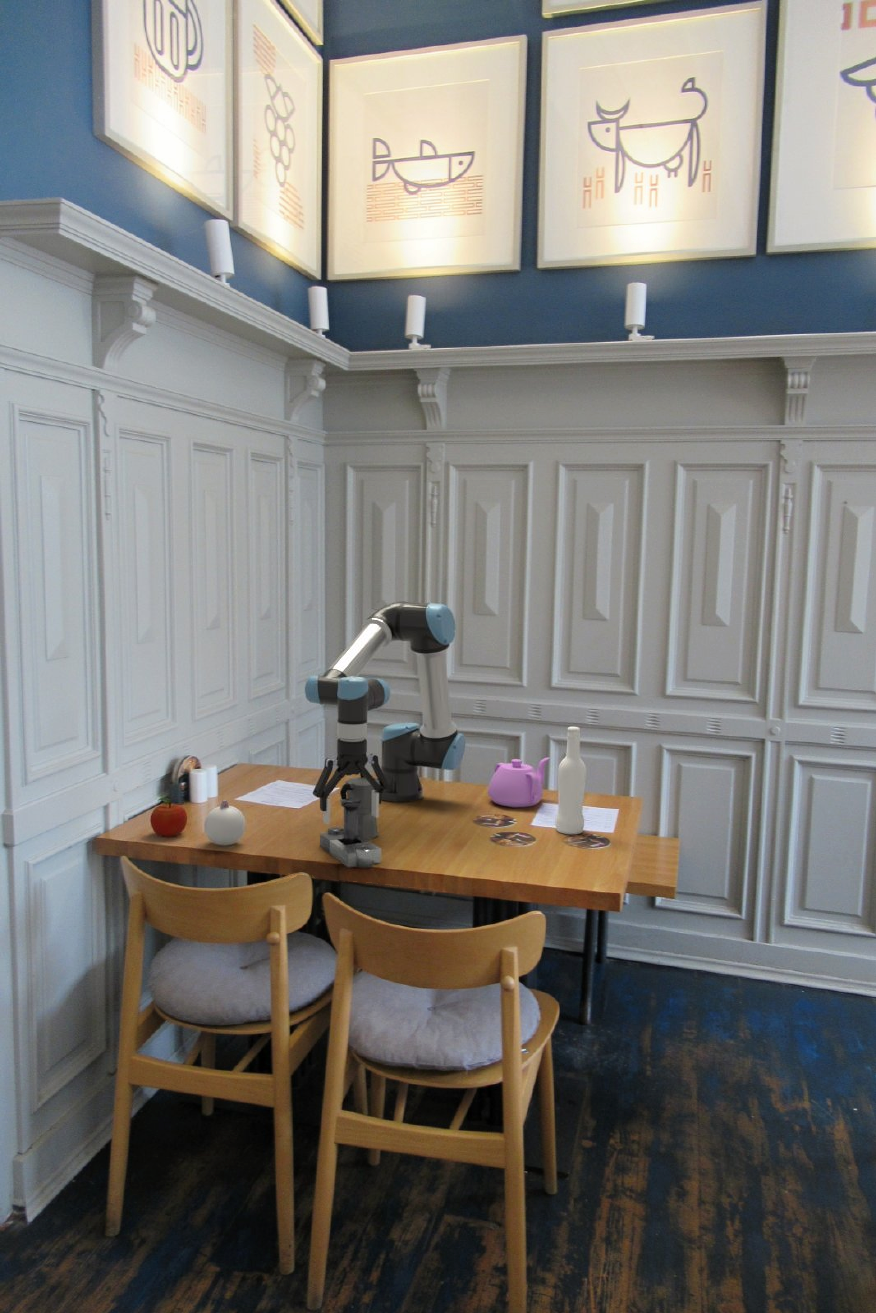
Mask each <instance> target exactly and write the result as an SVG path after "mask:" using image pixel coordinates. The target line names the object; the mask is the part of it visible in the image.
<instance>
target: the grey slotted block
mask: <svg viewBox="0 0 876 1313" xmlns="http://www.w3.org/2000/svg"><path fill="white" fill-rule="evenodd" d="M343 828H344V827H338V826H335V827H329V828H327V830H326V831H327V832H322V833H321V832H320V833H319V847H320V848H321V847H322V848H323V849H322V850H324V851H325V852H327V853H328V854H329V855H331V856H332V857H333V858H334V859H336V860H338V861H339V862H341V864H342V865H344V866H345V867H347V868H353V867H358V868H362V869H366V868H367V869H368V868H372V867H374V866H375V864H379V863H380V864H381V862H382V848H381V847H380V846H377V845H376V844H374V843H373V842H372V841H370V840H369V839H365V838H364V837H362V836H361V835H359V834H357V844H349V845H344V844H343Z"/></svg>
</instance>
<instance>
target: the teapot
mask: <svg viewBox="0 0 876 1313" xmlns="http://www.w3.org/2000/svg"><path fill="white" fill-rule="evenodd" d="M550 758H551V757H550V756H549V757H545V758H543V759H541V760H540V761H539V764H538V766H537V770H535V769H534V767H533V766H532V765H529V764H526V763H523V760H522V759H518V758H513V759H511V760H510V761H511V763H510V762H508V763H504V762H498V763H497V764H495V766H494V774H493V776H492V777H491V779H490V781H489V784H488V789H487V794H488V797H489V798H490V799H491V801H492V802H493V803H495V804H497V805H500V806H505V807H509V808H511V809H513V808H514V809H515V808H527V807H533V806H536V805H537V804H539V802H540V801H541V800H542V798H543V796H544V793H543V792H544V790H543V785H544V783H545V778H546V777H545V771H546V770H545V767H546V764H547V762H548V761H549V759H550Z"/></svg>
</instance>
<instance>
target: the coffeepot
mask: <svg viewBox="0 0 876 1313" xmlns="http://www.w3.org/2000/svg"><path fill="white" fill-rule="evenodd" d="M373 778H374V779H375V780H376V782H377V783H378V784H379V781H378V779H377V777H373ZM372 791H375V789H374V788H373V787H372V785H371V784H370V783H369V782H368V781H367V779H366V778H365V777H364V776H363V775H362V774H361V773H359V777H352V778H348V779H347V780H346V781H345V782H344V784H343V785H342V786H341V789H340V791H339V794H340V797H341V800H342V799H348V798H354V799H359V800H361V806H359V807H358V834H359V835H361V836H362V837H364V838H365V839H367V840H372V839H375V838H377V836H378V835H379V830H378V822H377V818H375V817H374V816H372V815H371V810H372Z"/></svg>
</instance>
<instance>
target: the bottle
mask: <svg viewBox="0 0 876 1313" xmlns="http://www.w3.org/2000/svg"><path fill="white" fill-rule="evenodd" d="M566 736H567V740H566V742H567V744H566V751H565V752H566V754H565V757H564V758H563V759H562V760H561V762H560V763H559V765H558V768H557V793H558V794H557V796H558V804H557V806H558V808H557V814H556V817H555V823H554V825H555V830H556V831H557V832H559V833H560V834H564V835H578V834H581V833H583V831H584V827H585V818H584V815H583V813H584V812H583V810H584V809H583V806H584V796H585V787H586V781H587V780H586V779H587V778H586V777H587V766H586V764H585V762H584V761H583V760H582V758H581V756H580V755H581V752H580V751H581V750H580V749H581V747H580V746H581V738H582V737H581V729H580V727H578V726H568V727H567V735H566Z"/></svg>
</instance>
